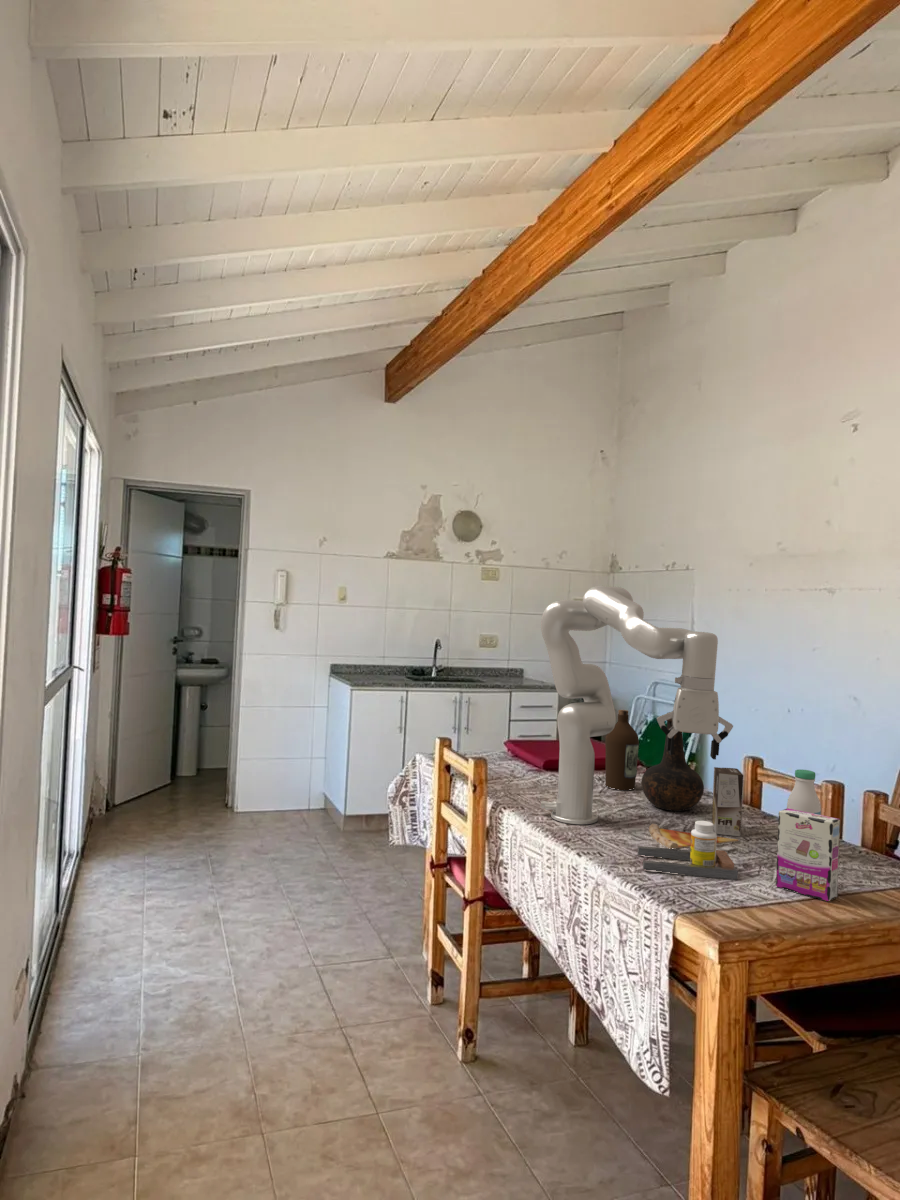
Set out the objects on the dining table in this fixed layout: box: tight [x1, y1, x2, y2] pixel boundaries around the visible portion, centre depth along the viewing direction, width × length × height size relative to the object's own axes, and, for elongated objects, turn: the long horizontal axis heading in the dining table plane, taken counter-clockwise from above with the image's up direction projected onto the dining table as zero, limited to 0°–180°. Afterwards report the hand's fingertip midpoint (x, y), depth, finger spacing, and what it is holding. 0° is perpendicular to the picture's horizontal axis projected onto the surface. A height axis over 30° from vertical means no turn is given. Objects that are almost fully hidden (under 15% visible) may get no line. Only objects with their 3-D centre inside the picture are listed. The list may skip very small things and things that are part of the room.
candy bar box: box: [775, 807, 841, 902], centre depth 164 cm, size 11×5×16 cm, turn 45°
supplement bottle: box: [689, 820, 718, 867], centre depth 176 cm, size 6×6×10 cm
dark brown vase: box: [640, 711, 705, 812], centre depth 229 cm, size 18×18×28 cm
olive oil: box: [604, 709, 640, 791], centre depth 252 cm, size 11×11×25 cm
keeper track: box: [637, 845, 739, 880], centre depth 177 cm, size 20×12×3 cm, turn 83°
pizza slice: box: [648, 823, 739, 849], centre depth 195 cm, size 16×22×2 cm
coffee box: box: [711, 766, 745, 837], centre depth 207 cm, size 9×6×16 cm
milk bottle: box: [786, 769, 822, 815], centre depth 191 cm, size 8×8×20 cm
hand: (691, 756), depth 184 cm, fingers open, 9 cm apart
